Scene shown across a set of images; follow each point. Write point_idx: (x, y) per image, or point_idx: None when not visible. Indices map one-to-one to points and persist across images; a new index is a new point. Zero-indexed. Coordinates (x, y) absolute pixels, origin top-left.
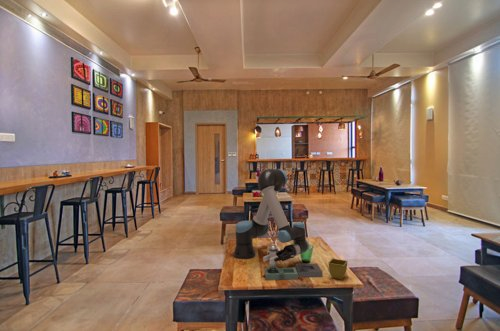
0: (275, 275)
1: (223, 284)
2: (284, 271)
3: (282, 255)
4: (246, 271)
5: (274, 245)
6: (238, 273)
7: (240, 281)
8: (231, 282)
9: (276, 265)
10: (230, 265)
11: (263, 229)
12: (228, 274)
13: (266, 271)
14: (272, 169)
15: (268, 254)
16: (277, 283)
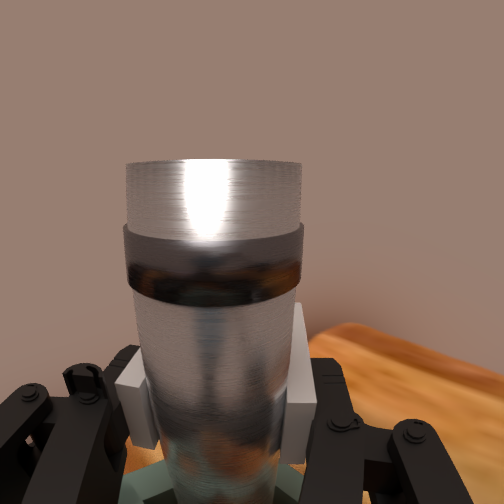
0: (160, 467)
1: (366, 326)
2: None
3: (37, 478)
4: (471, 450)
5: (189, 161)
6: (459, 406)
7: (348, 368)
8: (365, 345)
9: (175, 495)
10: None
11: None
12: (465, 371)
13: (282, 474)
14: None
15: (389, 430)
16: (126, 443)
